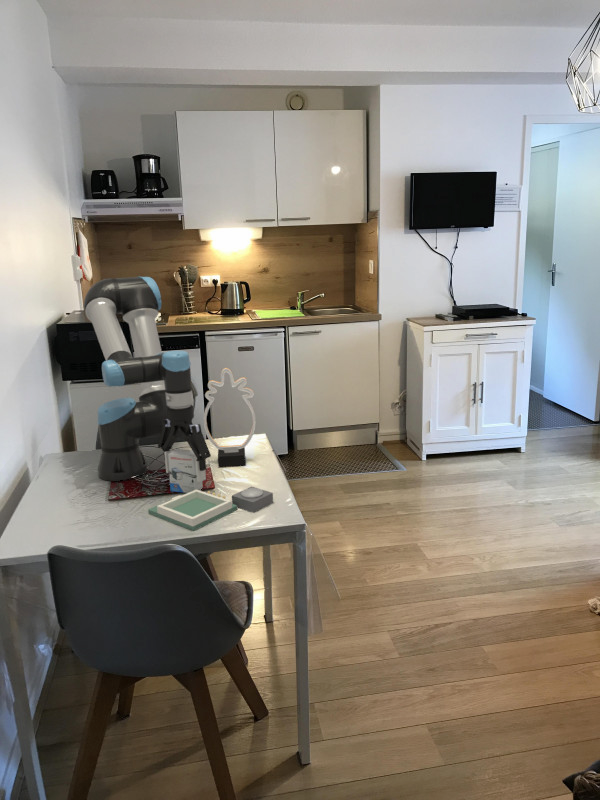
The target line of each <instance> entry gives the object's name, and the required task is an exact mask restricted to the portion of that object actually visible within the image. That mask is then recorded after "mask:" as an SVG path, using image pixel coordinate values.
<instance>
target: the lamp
mask: <svg viewBox="0 0 600 800" xmlns="http://www.w3.org/2000/svg"><path fill="white" fill-rule="evenodd" d="M226 373H227V374H228V377H229V379H230V385H231V388H235V387H237V386H238V385H239V386H238V387H237V390H238V391H239V392H240V391H241V392H246V393H248V394H243V395H241V398H242V400H243V401H244V402H245V404H246V405H247V406H248V408H249V410H250V412H251V417H252V425H251V429H250V432H249V435H248V437H247V438H246V440H245V441H244V442H243V443H242V444H236V445H235V444H234V445H220V444H219V443H217V442H216V441H215V439H214V438H213V437H212V435H211V433H210V431H209V428H208V422H207V416H208V413H209V410H210V408H211V405H212V404H213V403H214V401H215V397H214V396H211V395H212V394H217V392H218V390H217V388H216V387H220V388H222V387H223V386H224V384H225V374H226ZM247 384H248V380H247V377H244V376H243V377H240V378H238V379H237V380H235V377H234V374H233V372H232V370H231V369H230V368H228V367H224V368H223V369H221V372H220V381H217V380H213V379H212V380H209V381H208V383H207V388H208V389H209V390H207V391H206V392H205V394H204V397H205V398H206V399H207V400H208V402H207V405H206V406H205V410H204V413H203V428H204V432H205V435H206V437H207V438H208V440H209V441H210V443H211V445H213V447H215V448H216V449H217V463H218V466H217V467H218V469H219V468H222V469H223V468H234V467H235V468H236V467H237V468H238V467H246V466H247V465H246V463H247V461H246V449H245V448H246V446H248V444H249V443H250V442H251V440H252V438H253V435H254V432H255V430H256V424H257V423H256V420H257V419H256V413H255V409H254V407H253V405H252V404H251V402H250V400H249V399H252V398H253V397H254V395H255V392H254V390H253V389H251V388H249V387H246V385H247ZM213 385H214V386H216V387H214V386H213Z"/></svg>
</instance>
